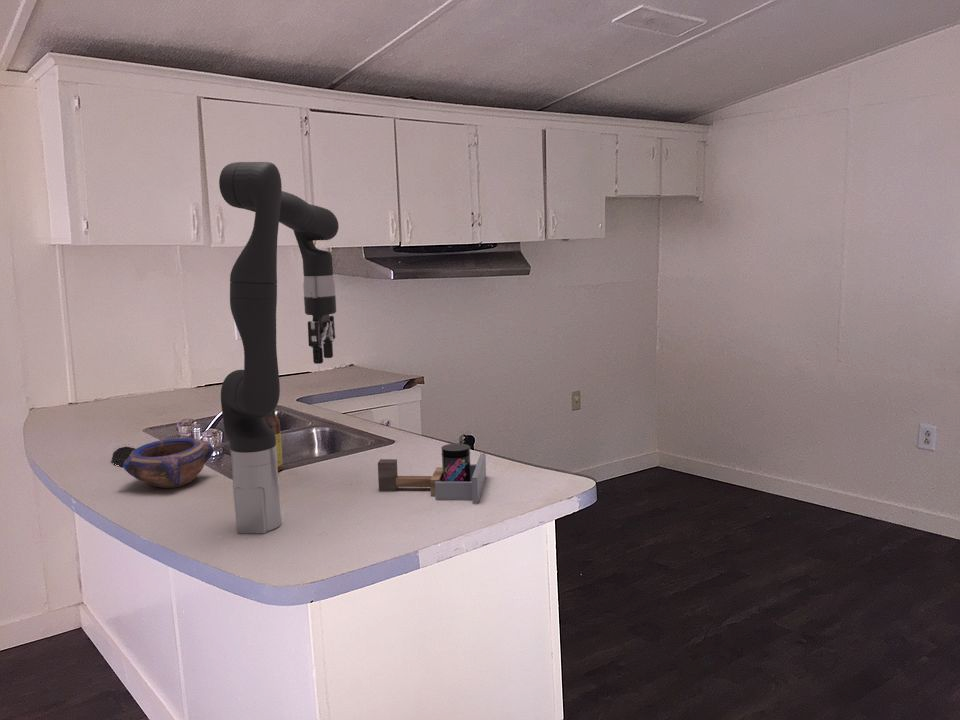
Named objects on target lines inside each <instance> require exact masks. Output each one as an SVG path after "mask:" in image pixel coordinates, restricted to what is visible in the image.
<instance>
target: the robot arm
mask: <svg viewBox="0 0 960 720" xmlns="http://www.w3.org/2000/svg"><path fill="white" fill-rule="evenodd" d="M218 186H219V191H220V194H221V197H222V198H223V200H224V201H225V202H226V203H227V204H228V206H230V207H233V208H237V209H241V210H246V211H250V212H254V213H255V214H254V221H253V227H252V228H253V229H252V231H251V233H250V234H251V235H250V237H249V238H248V240H247V243H246V244H245V246H244V248H243V249H242V250H241V252H240V254H239V255H238V257H237V258H236V260H235V262H234V264H233V266H232V267H231V271H230V275H229V305H230V306H229V307H230V311H231V314H232V317H233V321H234V324H235V326H236V328H237V331H238V333H239V336H240V339H241V342H242V346H243V354H244V355H243V356H244V357H243V358H244V359H243V361H244V363H243V365H244V366H243V369H235V370H233V371H232V372H230V373H229V374H227V376H225V378H224V379H223V381H222V383H221V389H220V405H221V414H222V422H223V429H224V430H223V431H224V434H225V436H226V437H227V440H228V442H229V448H230V465H231V477H232V478H231V480H232V490H233V491H232V492H233V503H234V513H235V526H236V534H266V533H267V532H269V531H272V530H276V529H277V528H279V527H280V526H281V525H282V513H281V512H282V511H281V502H280V501H281V500H280V499H281V498H280V483H279V473H278V468H277V452H276V438H275V433H274V431H273V430H272V429H271V428H270V427H269V426H268V425H267V424H266V422H265V420H264V418H263V417H266V416H268V415H270V414H271V413H272V412H273V411H274V410H275V409H276V408H277V406H278V404H279V401H280V396H281V395H280V394H281V391H280V390H281V388H280V387H281V385H280V384H281V383H280V373H279V363H278V352H277V351H278V350H277V303H278V300H277V299H278V274H277V271H278V269H277V266H278V265H277V262H278V259H277V258H278V257H277V256H278V234H279V224H282V225H283V226H285V227H288V229H291V230H292V231H293V234H294V236H295V237H294V238H295V239H296V243H297V246H298V248H299V252H300V254H301V258H302V270H303V271H302V272H303V285H302V286H303V287H302V289H303V302H304V303H303V304H304V313H305V315H307V316H312V320H311V321H310V320H309V321H307V334H308V335H307V336H308V337H307V338H308V347H311V348H312V361H313V364H316V365H319V364H323V363H324V358H325V359H332V358H333V357H334V349H333V348H334V347H333V346H334V345H333V343H334V340H335V339H336V331H335V329H336V328H335V316H334V314H336V313H337V301H336V299H337V298H336V285H335V284H336V283H335V278H334V265H333V262H334V261H333V254H332V253H331V252H330V251H328V250H322V249H319V248H317V247H316V245H315V243H314V241H329V240H332V239H333V238H334V237H335V236H337V234H338V233H339V232H338V231H339V221H338V219H337V217H336V215H335V214H334V212H333V211H331V210H330V209H328V208H325V207H321V206H318V205H316V204H315V205H314V204H311V203H308V202H307V201H305V200H304V199H303V198H301V197H299V196H297V195H295V194H293V193H289V192H288V191H283V190H282V187H283V185H282V178H281V173H280V170H279V168H278V167H277V166H276V164H274V163H272V162H269V161H235V162H231V163H228V164H226V165H224V167H223V168H222V170H221V171H220V174H219V180H218Z"/></svg>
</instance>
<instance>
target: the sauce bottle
mask: <svg viewBox="0 0 960 720" xmlns="http://www.w3.org/2000/svg"><path fill="white" fill-rule="evenodd" d="M263 418H264V420H265V422H266V424H267V425H268V426H269V427H270V428H271V429H272V430H273V431H274V433H275V438H276V452H277V468H278V471H279V472H280V470H281V471H282V470H283V462H284V461H283V447H282V446H283V445H282V431H281V421H280V419H279V417H278V416H277V415H276V410H275V409H274V411H273V412H272V413H271V414H270V415H268V416H266V417H263Z"/></svg>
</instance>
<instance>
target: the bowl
mask: <svg viewBox="0 0 960 720" xmlns="http://www.w3.org/2000/svg"><path fill="white" fill-rule="evenodd" d="M213 448H214V447H213V446H212V444H211V443H210V441H206V440H203V439H198V438H194V437H173V438H172V437H171V438H164V439H160V440H156V441H152V442H148V443H146V444H142V445H141V446H139V447H137V448H135V450H134V451H132V453H131V454H130V456H129V457H128V458H127V459H126V460H125V461H124V462H123V466H122V468H123V469H124V471H126V472H127V473H128V474H129V475H130V476H132V477H133V478H134V479H136V480H138V481H140V482H141V481H142V482H144V483H146V484H149V485H150V486H152V487H157V488H164V489H166V488H167V489H168V488H169V489H171V488H180V487H182V486H185V485H187V484H189V483H192V481H194V479H195V478H197V476H198V475H199V474H200V473H201V472H202V470H203V468H204V466H205V464H206V463H207V461H209V459H210V458H211V457H212V456H213V454H214V452H215V451H214V449H213Z"/></svg>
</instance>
